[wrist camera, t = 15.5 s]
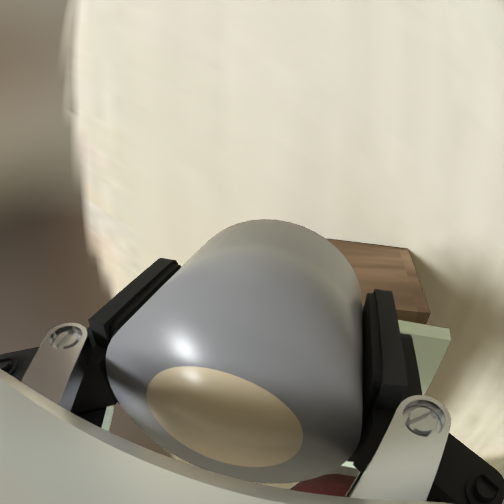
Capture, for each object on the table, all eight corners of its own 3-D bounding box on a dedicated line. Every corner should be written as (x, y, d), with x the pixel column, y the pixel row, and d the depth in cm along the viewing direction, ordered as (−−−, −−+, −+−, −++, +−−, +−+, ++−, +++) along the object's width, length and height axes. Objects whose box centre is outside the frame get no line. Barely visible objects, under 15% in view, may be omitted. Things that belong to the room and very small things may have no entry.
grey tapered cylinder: (184, 210, 10) (74, 286, 6) (377, 232, 9) (403, 350, 4) (196, 352, 13) (135, 447, 8) (343, 380, 11) (327, 498, 7)
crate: (275, 232, 26) (243, 289, 19) (407, 248, 24) (430, 312, 16) (270, 357, 32) (246, 424, 25) (373, 371, 30) (371, 443, 22)
